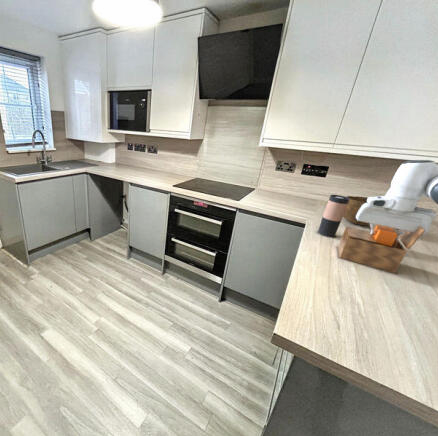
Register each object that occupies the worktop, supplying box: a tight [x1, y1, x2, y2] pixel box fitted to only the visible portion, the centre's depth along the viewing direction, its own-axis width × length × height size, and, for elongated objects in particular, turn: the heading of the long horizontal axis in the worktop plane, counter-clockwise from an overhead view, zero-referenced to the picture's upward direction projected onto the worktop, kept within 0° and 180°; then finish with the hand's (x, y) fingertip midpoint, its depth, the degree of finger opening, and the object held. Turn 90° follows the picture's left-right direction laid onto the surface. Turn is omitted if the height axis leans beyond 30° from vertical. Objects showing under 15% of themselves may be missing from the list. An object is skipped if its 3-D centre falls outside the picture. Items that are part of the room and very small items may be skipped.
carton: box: [337, 226, 408, 274], centre depth 96 cm, size 17×13×10 cm
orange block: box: [373, 225, 398, 246], centre depth 92 cm, size 5×8×5 cm, turn 144°
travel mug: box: [317, 194, 349, 238], centre depth 117 cm, size 8×8×20 cm
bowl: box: [343, 195, 370, 226], centre depth 137 cm, size 19×19×15 cm
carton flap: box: [398, 226, 425, 251], centre depth 88 cm, size 8×13×1 cm
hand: (382, 237), depth 93 cm, fingers closed on orange block, 5 cm apart
